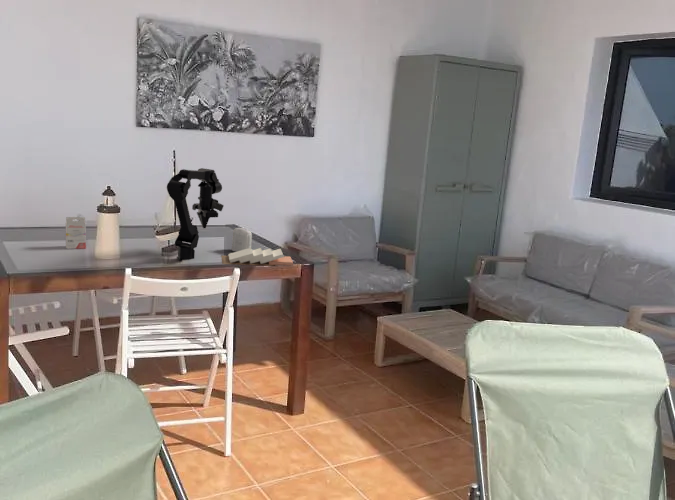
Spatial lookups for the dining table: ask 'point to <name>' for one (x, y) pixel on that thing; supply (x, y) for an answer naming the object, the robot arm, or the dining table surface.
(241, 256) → the domino
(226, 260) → the walnut board
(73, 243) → the ink cartridge box
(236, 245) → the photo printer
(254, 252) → the domino
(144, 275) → the dining table surface
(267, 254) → the domino
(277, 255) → the domino
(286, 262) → the domino
